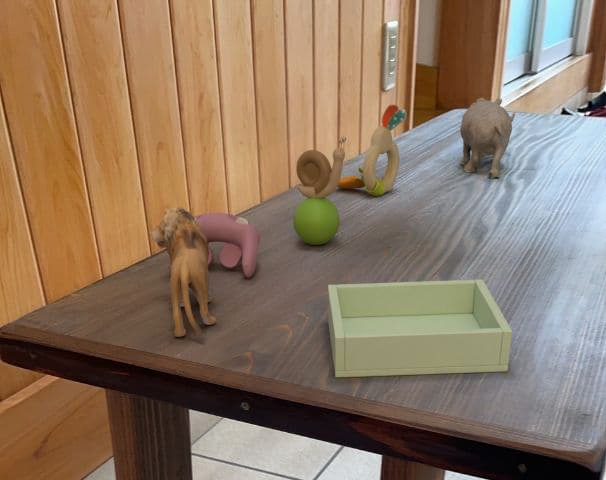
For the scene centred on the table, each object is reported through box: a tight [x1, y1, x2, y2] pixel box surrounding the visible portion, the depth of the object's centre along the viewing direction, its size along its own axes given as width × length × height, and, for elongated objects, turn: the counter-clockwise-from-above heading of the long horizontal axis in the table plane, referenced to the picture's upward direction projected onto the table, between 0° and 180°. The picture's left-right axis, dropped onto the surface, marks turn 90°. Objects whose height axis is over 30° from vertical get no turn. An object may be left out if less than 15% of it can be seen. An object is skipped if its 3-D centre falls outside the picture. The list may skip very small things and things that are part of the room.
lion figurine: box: [149, 206, 217, 339], centre depth 82 cm, size 15×5×9 cm, turn 15°
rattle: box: [337, 104, 408, 197], centre depth 118 cm, size 8×8×12 cm
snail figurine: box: [293, 136, 347, 246], centre depth 98 cm, size 5×6×12 cm
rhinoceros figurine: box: [459, 97, 516, 179], centre depth 128 cm, size 8×14×15 cm
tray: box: [327, 279, 513, 378], centre depth 76 cm, size 15×13×4 cm
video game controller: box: [168, 212, 261, 279], centre depth 94 cm, size 10×5×7 cm, turn 80°
